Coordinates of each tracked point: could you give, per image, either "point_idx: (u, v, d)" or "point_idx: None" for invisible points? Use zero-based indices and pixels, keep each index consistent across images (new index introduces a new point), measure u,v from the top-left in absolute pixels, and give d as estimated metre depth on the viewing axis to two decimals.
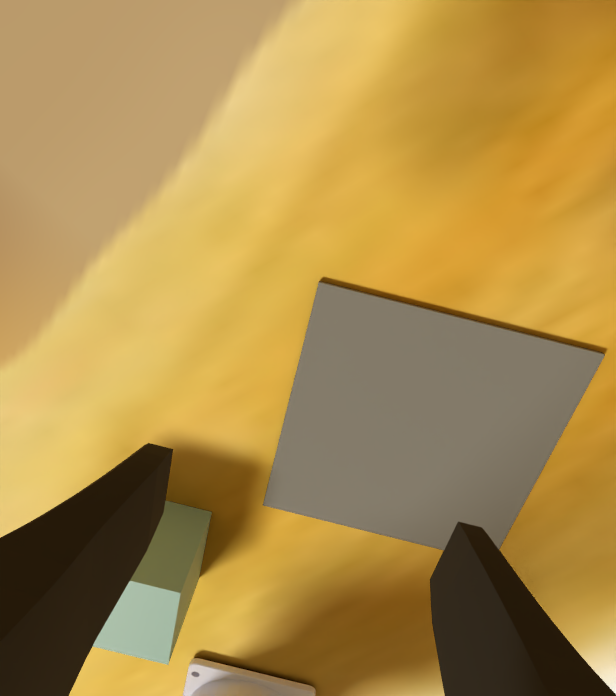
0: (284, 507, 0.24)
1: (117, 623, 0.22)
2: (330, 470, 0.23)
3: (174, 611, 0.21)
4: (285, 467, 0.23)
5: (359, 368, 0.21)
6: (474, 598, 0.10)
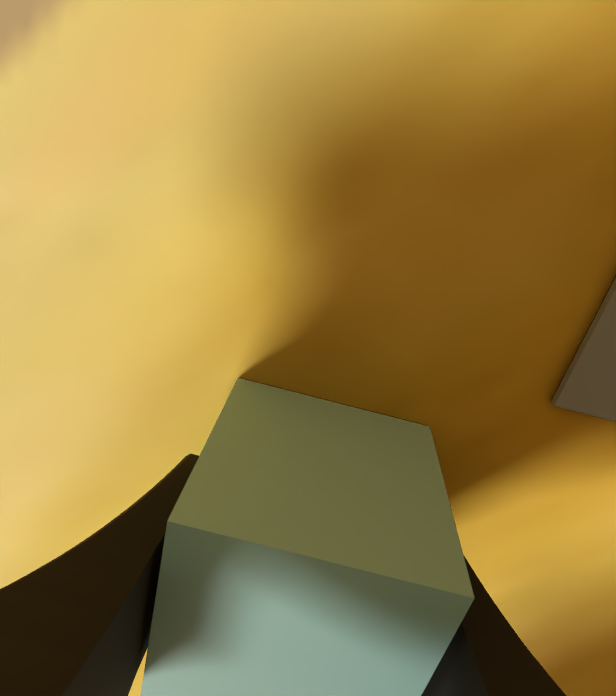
0: (601, 410, 0.11)
1: (278, 672, 0.09)
2: None
3: (439, 646, 0.08)
4: None
5: None
6: None
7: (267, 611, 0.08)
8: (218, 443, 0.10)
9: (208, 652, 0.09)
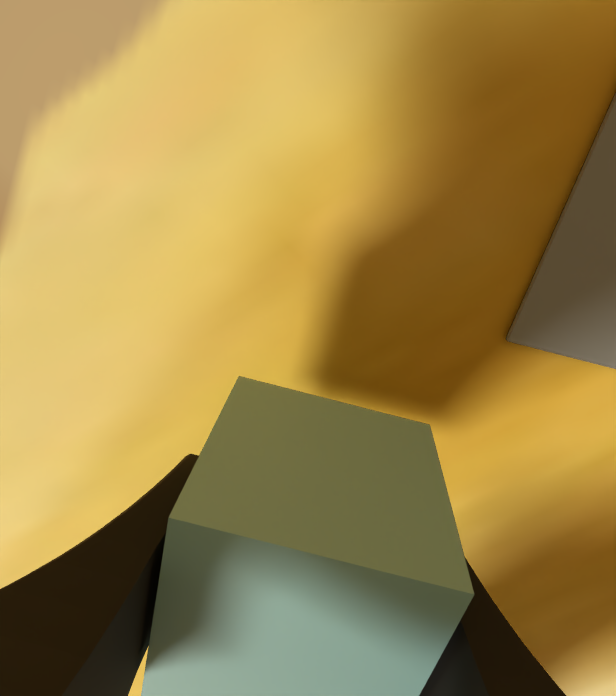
0: (543, 344, 0.15)
1: (278, 668, 0.09)
2: None
3: (439, 642, 0.08)
4: (565, 264, 0.14)
5: None
6: None
7: (268, 608, 0.08)
8: (219, 440, 0.10)
9: (209, 648, 0.09)
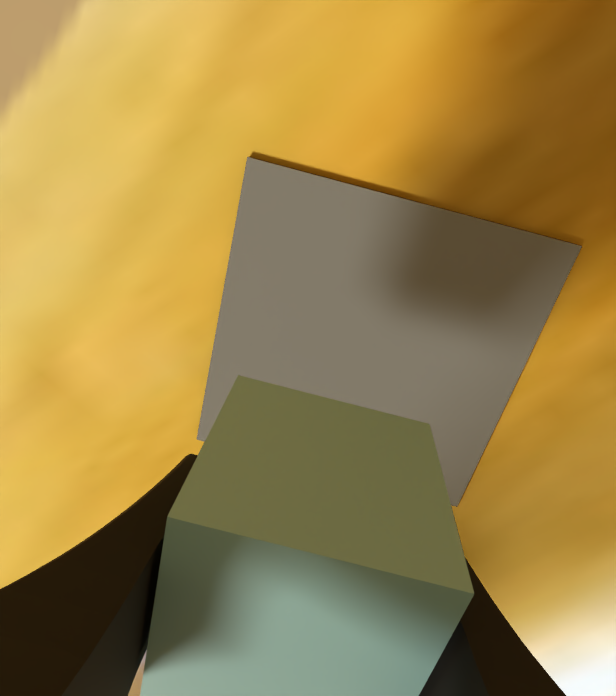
0: None
1: (278, 668, 0.09)
2: None
3: (439, 642, 0.08)
4: (219, 392, 0.20)
5: (298, 266, 0.18)
6: None
7: (267, 607, 0.08)
8: (218, 440, 0.10)
9: (208, 647, 0.09)
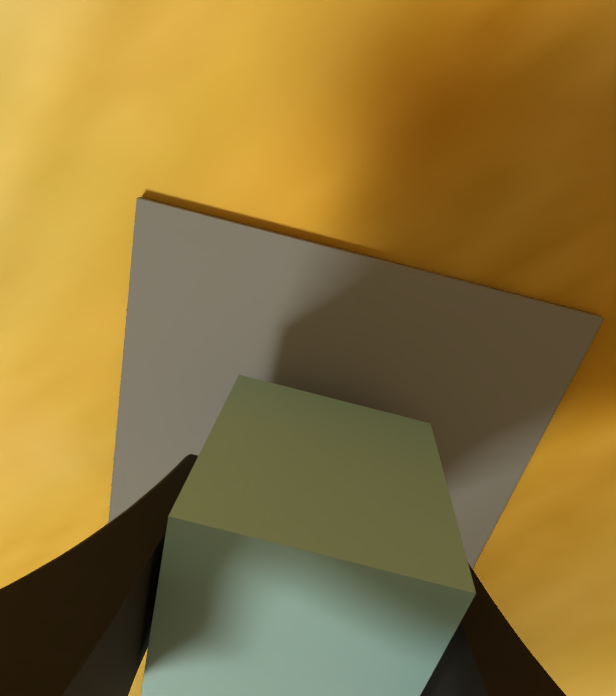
0: None
1: (279, 668, 0.09)
2: None
3: (441, 642, 0.08)
4: (129, 493, 0.16)
5: (218, 341, 0.13)
6: None
7: (269, 607, 0.08)
8: (219, 439, 0.10)
9: (209, 647, 0.09)
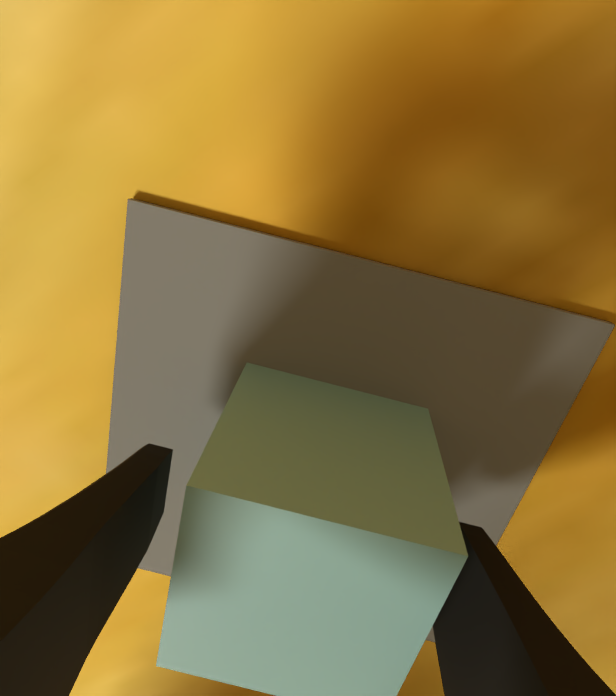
0: None
1: (287, 630, 0.09)
2: None
3: (436, 602, 0.09)
4: None
5: (213, 348, 0.13)
6: (474, 598, 0.10)
7: (278, 571, 0.09)
8: (230, 419, 0.10)
9: (221, 611, 0.09)
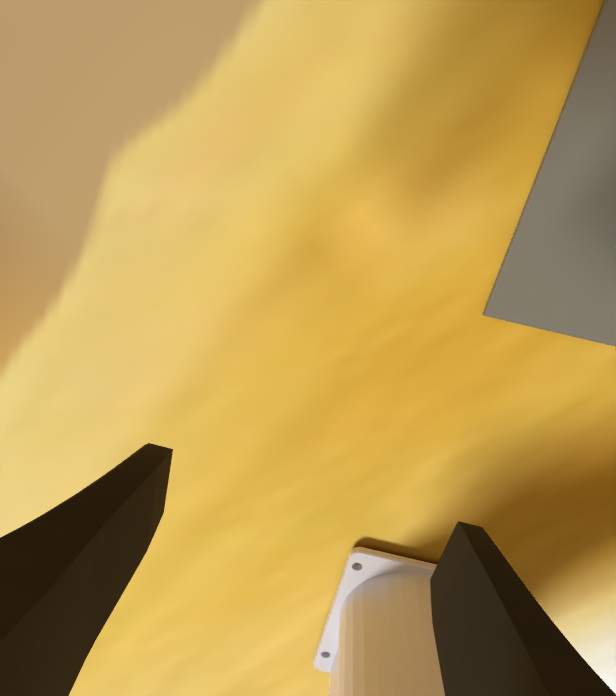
0: (512, 317, 0.19)
1: None
2: (586, 255, 0.18)
3: None
4: (525, 254, 0.18)
5: None
6: (474, 599, 0.10)
7: None
8: None
9: None
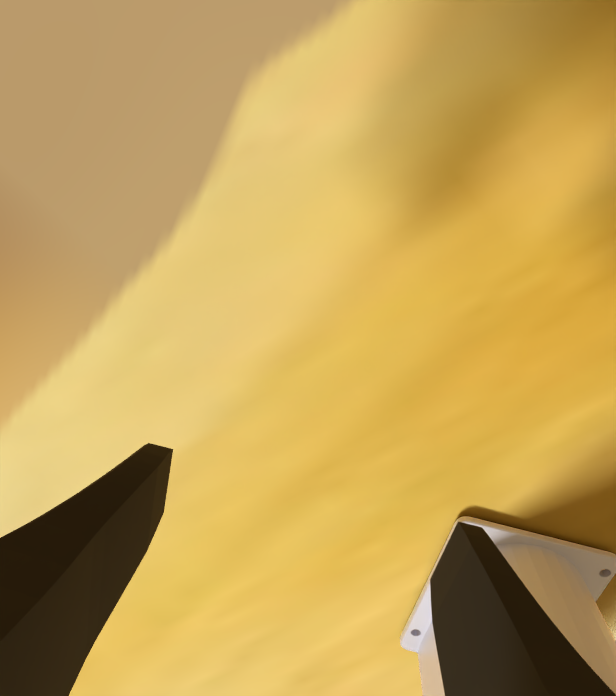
0: None
1: None
2: None
3: None
4: None
5: None
6: (474, 599, 0.10)
7: None
8: None
9: None
